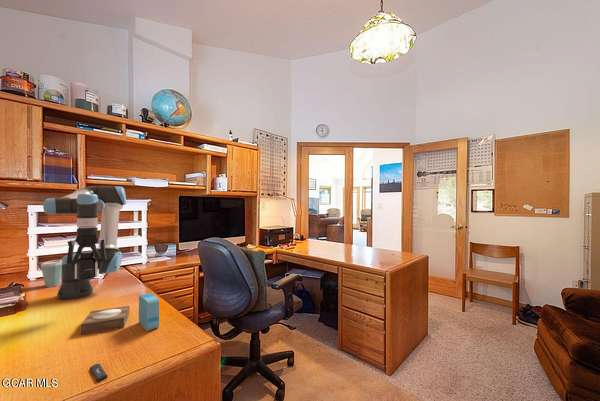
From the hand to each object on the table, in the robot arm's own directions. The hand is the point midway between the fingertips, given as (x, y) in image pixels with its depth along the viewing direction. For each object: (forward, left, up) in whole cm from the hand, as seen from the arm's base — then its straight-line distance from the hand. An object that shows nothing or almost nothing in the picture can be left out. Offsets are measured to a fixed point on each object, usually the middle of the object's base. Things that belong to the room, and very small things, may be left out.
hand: (87, 276), depth 121 cm
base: (+17, +11, -17) cm, 26 cm away
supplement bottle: (0, 0, -1) cm, 1 cm away
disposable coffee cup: (-61, -32, -17) cm, 71 cm away
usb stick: (+55, +16, -18) cm, 60 cm away
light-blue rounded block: (+26, +27, -17) cm, 41 cm away
